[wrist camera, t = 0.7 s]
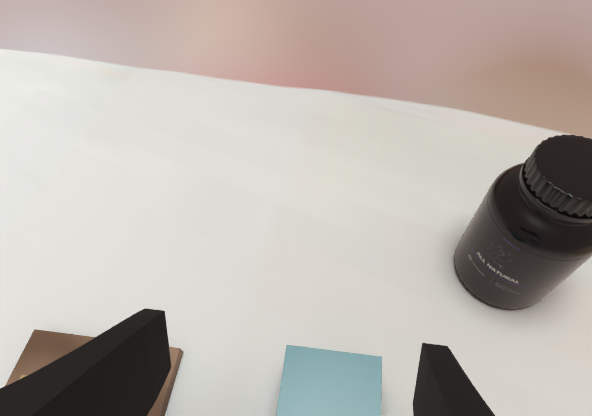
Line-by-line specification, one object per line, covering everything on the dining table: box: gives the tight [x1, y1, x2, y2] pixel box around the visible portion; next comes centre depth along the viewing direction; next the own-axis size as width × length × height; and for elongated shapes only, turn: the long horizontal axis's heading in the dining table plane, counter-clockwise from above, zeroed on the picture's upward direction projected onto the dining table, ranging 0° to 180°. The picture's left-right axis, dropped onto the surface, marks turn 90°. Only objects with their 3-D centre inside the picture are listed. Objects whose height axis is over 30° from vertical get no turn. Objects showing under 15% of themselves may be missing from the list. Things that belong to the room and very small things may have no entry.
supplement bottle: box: [455, 135, 592, 309], centre depth 26 cm, size 7×7×12 cm
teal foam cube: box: [276, 345, 382, 416], centre depth 23 cm, size 5×5×6 cm
